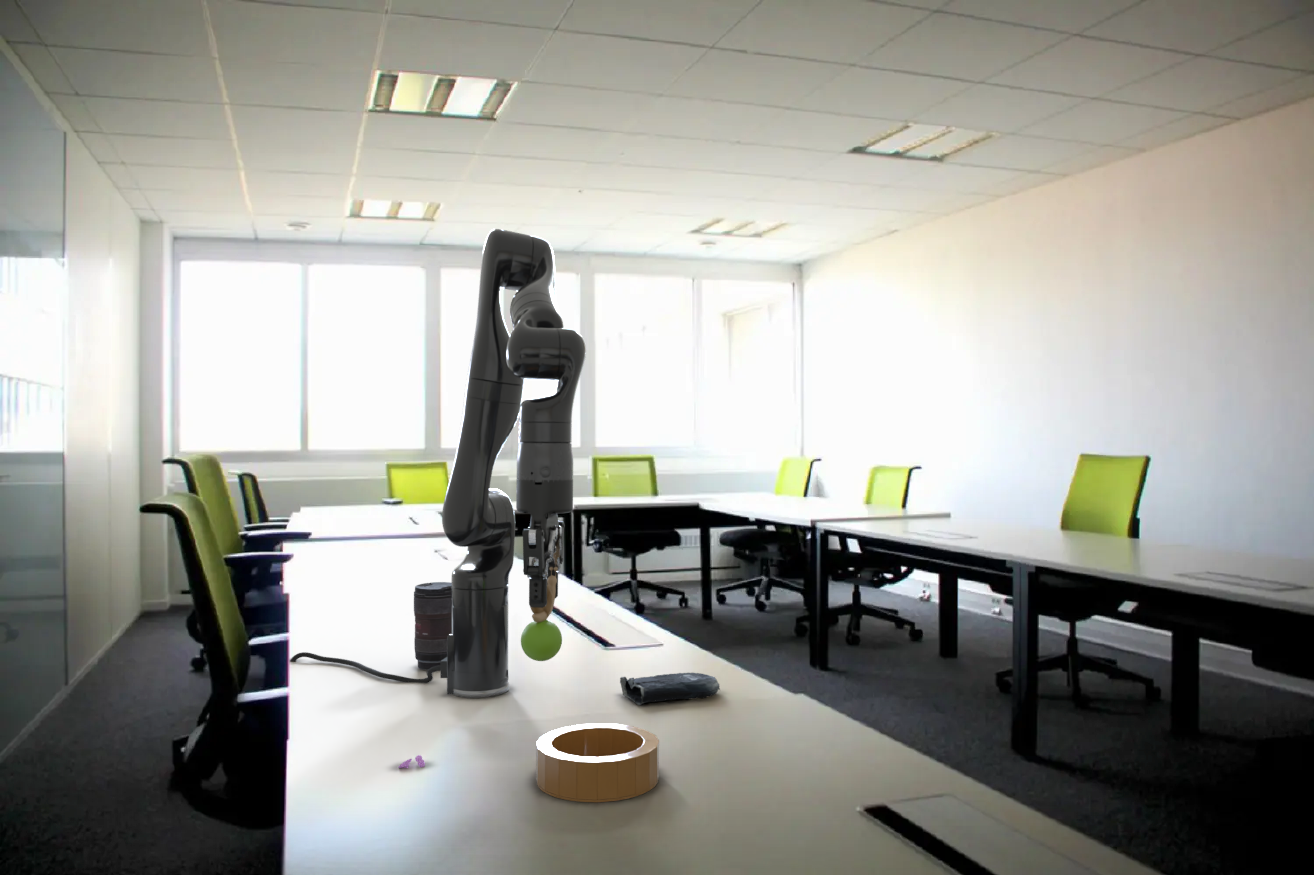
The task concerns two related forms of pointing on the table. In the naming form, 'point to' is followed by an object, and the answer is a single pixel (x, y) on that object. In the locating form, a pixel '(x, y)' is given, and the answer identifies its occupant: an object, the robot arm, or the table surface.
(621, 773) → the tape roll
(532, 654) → the snail figurine
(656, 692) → the dark blue pouch
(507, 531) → the robot arm
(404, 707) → the table surface
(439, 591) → the camera lens
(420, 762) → the earpods
